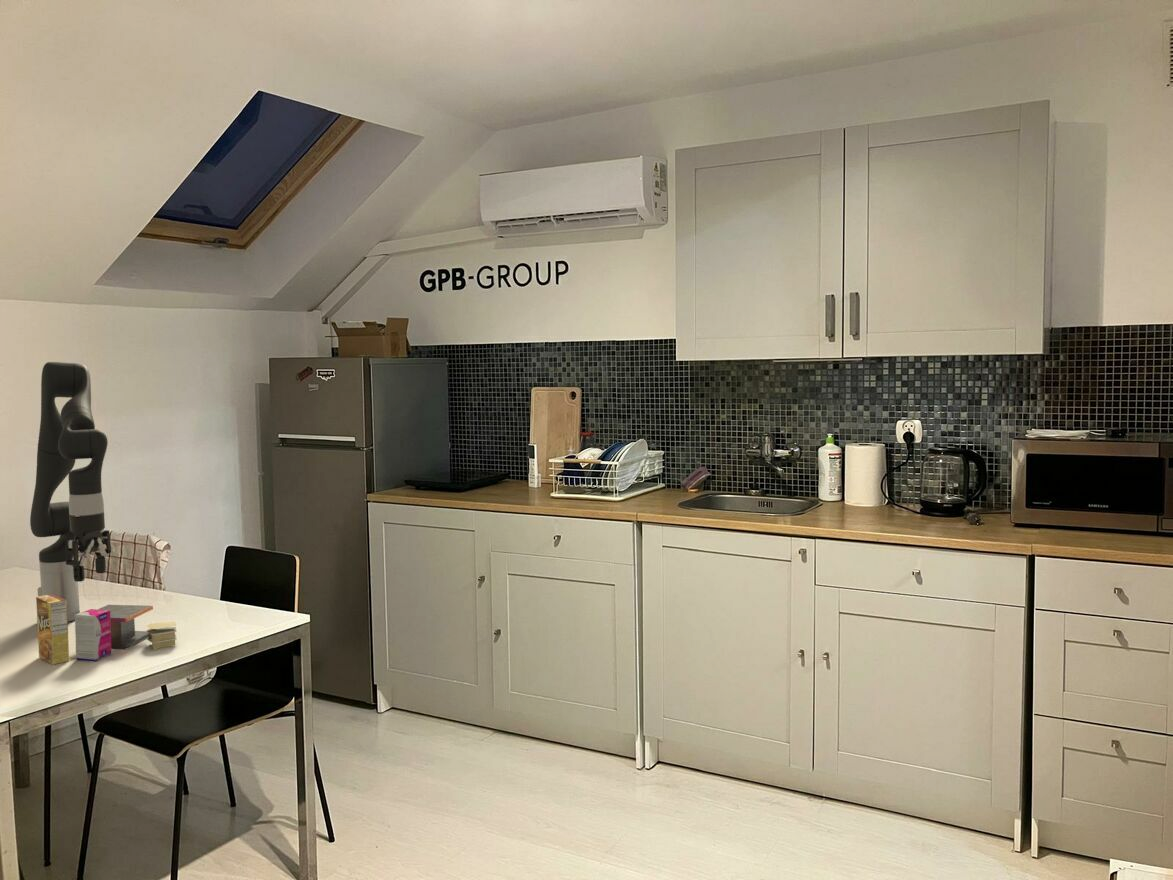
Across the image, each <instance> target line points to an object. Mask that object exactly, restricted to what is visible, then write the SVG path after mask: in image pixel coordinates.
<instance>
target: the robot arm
mask: <svg viewBox="0 0 1173 880" xmlns="http://www.w3.org/2000/svg"><path fill="white" fill-rule="evenodd" d="M91 385H92V384H91V375H90V371H89V368H88V367H87V366H86V365H85V364H82V363H77V362H76V363H74V362H59V361H58V362H57V361H48V362H46V363H45V364H44V365H43V367H42V371H41V383H40V400H41V401H40V424H39V430H38V431H39V432H38V442H37V452H36V453H37V454H36V471H35V473H36V474H35V485H34V491H33V492H34V493H33V498H32V504H31V509H30V518H29V524H30V530H31V533H32V534H33V536H34V537H36V538H49V537H56V536H59V538H58V539H57V540H56V541H55V542H53V543H52V544H51V545H49V546H47V547H45V548H42V549H41V550H39V553H38V560H39V575H40V580H39V581H40V587H38V588H37V597H39V596H45V595H52V594H53V595H55V596H57V597H60V598H62V599H65V600H67V619H68V623H69V622H73V621H75V615H76V614H78V613H81V612H80V611H81V610H80V595H79V593H80V591H79V583H80V582H83V581H85V566H84V563H85V561H86V559H87V558H89V556H90V554H93V556H95V557H94V563H95V573H96V574H104V573H106V571H107V565H106V558H107V557H108V555H109V554H111V553H112V546H111V545H112V543H111V535H110V534H111V533H110V530H108V529H107V530H106V529H105V528H106V524H105V521H106V519H105V507H104V506H105V503H104V496H103V493H102V491H103V488H102V487H103V486H102V471H103V465H104V459H105V456H106V452H107V449H108V444H109V443H108V442H109V441H108V436H107V435H106V434H105V432H104V431H102V429H96V427H95V426H96V425H95V420H94V417H93V413H92V390H91V389H92V388H91V387H92V386H91ZM56 398H70V399H68V401H67V402H66V403H65V404H64V405H63V406H62V409H61V411H60V412H59V409H58V408H57V404H56ZM83 459H84V460H86V459H91V460H90V462H89V464H87V465H86V466H83V467H79V468H76V469H73V468H74V466H75V464H76V460H83ZM67 477H68V490H69V492H68V493H69V494H68V495H69V497H68V501H59V502H51V501H52V497H53V495H54V494H55V492H56V490H57V489H58V487H59V486H60V485H61V483H63V481H64V480H66V478H67ZM104 529H105V530H104ZM105 546H106V547H105Z"/></svg>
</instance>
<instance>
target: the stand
mask: <svg viewBox="0 0 1173 880" xmlns="http://www.w3.org/2000/svg"><path fill="white" fill-rule="evenodd" d="M96 610H109V611H110V619H111V650H127V649H130V648H131V647H133V646H135V645H136V644H138V643H140V642H142V641H144V640H147V638H148V633H147V632H146V630H136V625H135V622H136V621H135V618H138V617H140V616H142V615H144V614H146V613H148V612H150V611H152V610H154V606H153V605H143V604H141V605H139V604H138V605H135V604H133V605H132V604H107V605H105V606H102V607H100V608H98V609H96Z"/></svg>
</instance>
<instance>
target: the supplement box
mask: <svg viewBox="0 0 1173 880" xmlns="http://www.w3.org/2000/svg"><path fill="white" fill-rule="evenodd" d="M74 624H75V625H74V628H75V629H74V630H75V632H74V634H75V660H76V661H80V662H81V661H82V662H83V661H84V662H98V661H99V660H101V659H104V658H106V657H109V656H112V649H111V619H110V611H109V610H97V609H94V608H90V609H88V610H87V609H86V610H85V611H82V612H80V613H78V614H76V615H75V620H74Z"/></svg>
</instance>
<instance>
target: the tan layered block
mask: <svg viewBox="0 0 1173 880" xmlns="http://www.w3.org/2000/svg"><path fill="white" fill-rule="evenodd" d="M145 626H146V627H147V628H148V629H147V630H145V631H146V632H147V633H148V638H146V640H147V641H148V642H150V643H151V648H152V649H154V648H156V649H161V648H164V647H165V646H167V647H173V645H175V646H176V641H177V640H178V637H177V634H176V632H177V628H176V627H177V623H176V621H169V622H152V623H148V624H147V625H145ZM165 648H166V647H165Z"/></svg>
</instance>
